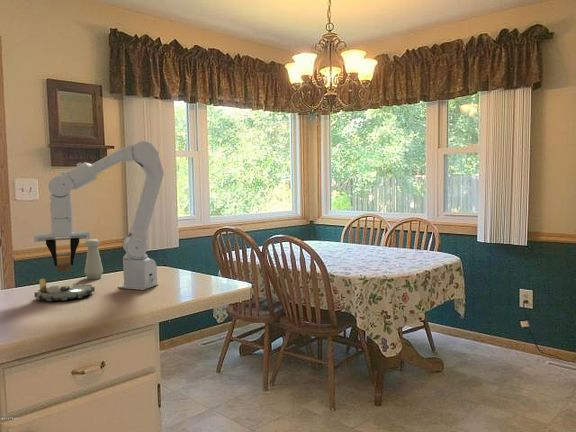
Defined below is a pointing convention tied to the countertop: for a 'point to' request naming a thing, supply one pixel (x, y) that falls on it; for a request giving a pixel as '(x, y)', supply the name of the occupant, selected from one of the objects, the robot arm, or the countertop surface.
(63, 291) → the sprocket
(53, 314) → the countertop surface
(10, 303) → the countertop surface
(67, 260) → the link block
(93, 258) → the salt shaker
